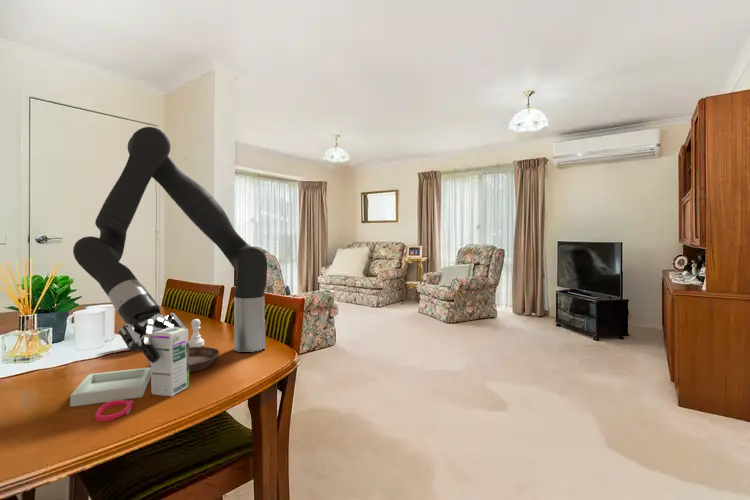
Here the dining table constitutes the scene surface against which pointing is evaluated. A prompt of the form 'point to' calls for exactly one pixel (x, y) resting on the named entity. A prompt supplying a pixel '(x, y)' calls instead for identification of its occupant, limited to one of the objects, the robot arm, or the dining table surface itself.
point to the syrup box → (170, 361)
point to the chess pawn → (196, 335)
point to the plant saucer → (200, 357)
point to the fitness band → (109, 417)
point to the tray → (111, 386)
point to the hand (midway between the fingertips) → (172, 354)
